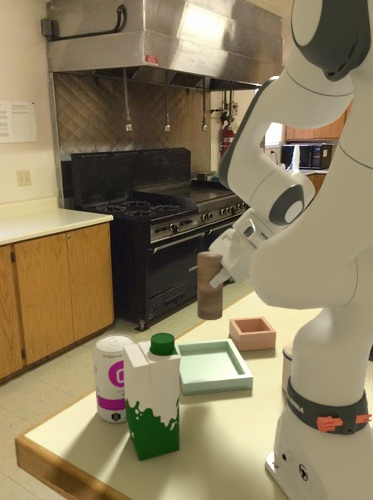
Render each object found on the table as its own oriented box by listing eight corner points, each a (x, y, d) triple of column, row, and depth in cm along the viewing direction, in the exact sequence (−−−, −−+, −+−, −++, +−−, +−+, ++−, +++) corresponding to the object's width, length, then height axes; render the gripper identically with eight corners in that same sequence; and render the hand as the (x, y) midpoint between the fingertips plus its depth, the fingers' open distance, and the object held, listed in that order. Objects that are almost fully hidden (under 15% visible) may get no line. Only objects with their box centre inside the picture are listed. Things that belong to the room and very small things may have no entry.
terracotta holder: (275, 348, 109) (276, 331, 107) (239, 351, 107) (239, 335, 106) (262, 331, 118) (263, 316, 117) (229, 334, 116) (229, 319, 115)
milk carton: (186, 452, 73) (185, 347, 68) (134, 467, 70) (129, 357, 65) (169, 421, 81) (167, 325, 76) (122, 433, 78) (117, 333, 73)
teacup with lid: (314, 407, 85) (318, 354, 82) (273, 391, 90) (275, 341, 87) (335, 380, 94) (340, 332, 91) (296, 367, 99) (300, 321, 96)
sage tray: (252, 388, 91) (253, 376, 91) (183, 395, 89) (183, 383, 88) (230, 348, 108) (230, 338, 108) (172, 353, 106) (172, 343, 105)
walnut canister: (225, 319, 93) (226, 257, 89) (200, 321, 92) (200, 259, 88) (219, 309, 98) (219, 250, 95) (195, 311, 97) (195, 252, 94)
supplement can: (146, 416, 83) (143, 346, 79) (105, 430, 79) (100, 357, 75) (130, 394, 89) (127, 329, 86) (92, 407, 86) (87, 339, 82)
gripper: (229, 216, 101) (189, 257, 102) (257, 235, 81) (207, 286, 82) (247, 233, 103) (207, 274, 104) (278, 256, 83) (229, 306, 84)
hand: (207, 279), depth 93 cm, fingers closed on walnut canister, 6 cm apart
